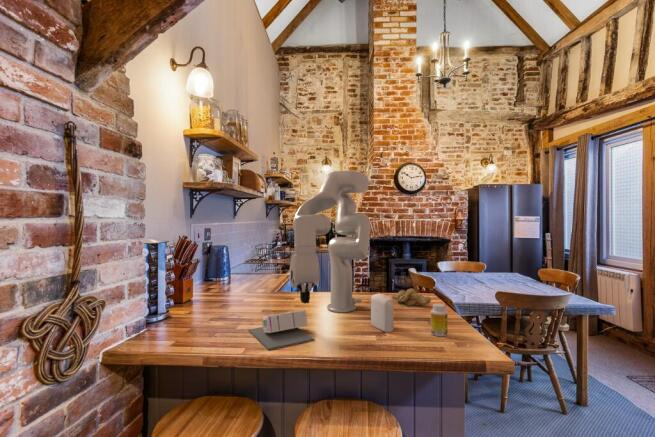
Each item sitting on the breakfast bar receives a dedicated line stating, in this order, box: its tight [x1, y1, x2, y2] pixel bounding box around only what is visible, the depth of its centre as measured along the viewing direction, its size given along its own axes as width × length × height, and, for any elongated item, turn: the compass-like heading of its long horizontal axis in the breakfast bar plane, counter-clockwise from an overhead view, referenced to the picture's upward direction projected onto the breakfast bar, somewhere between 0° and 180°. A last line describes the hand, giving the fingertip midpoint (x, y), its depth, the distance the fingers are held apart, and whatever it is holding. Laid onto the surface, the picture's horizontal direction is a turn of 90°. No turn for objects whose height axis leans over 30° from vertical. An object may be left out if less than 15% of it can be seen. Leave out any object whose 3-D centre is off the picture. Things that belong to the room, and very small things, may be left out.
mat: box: [248, 326, 315, 351], centre depth 117 cm, size 16×20×1 cm
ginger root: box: [390, 287, 432, 307], centre depth 159 cm, size 16×16×8 cm
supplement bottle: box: [430, 303, 448, 337], centre depth 118 cm, size 6×6×10 cm
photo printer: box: [370, 293, 395, 333], centre depth 125 cm, size 10×4×12 cm, turn 26°
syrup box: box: [261, 309, 308, 333], centre depth 120 cm, size 6×6×14 cm
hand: (305, 302), depth 120 cm, fingers closed
